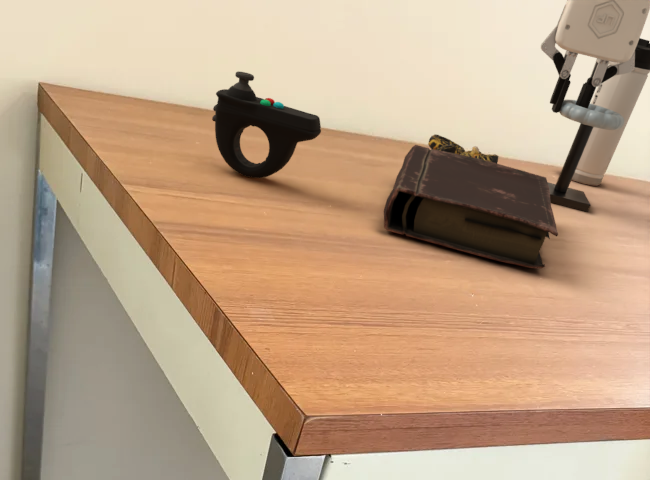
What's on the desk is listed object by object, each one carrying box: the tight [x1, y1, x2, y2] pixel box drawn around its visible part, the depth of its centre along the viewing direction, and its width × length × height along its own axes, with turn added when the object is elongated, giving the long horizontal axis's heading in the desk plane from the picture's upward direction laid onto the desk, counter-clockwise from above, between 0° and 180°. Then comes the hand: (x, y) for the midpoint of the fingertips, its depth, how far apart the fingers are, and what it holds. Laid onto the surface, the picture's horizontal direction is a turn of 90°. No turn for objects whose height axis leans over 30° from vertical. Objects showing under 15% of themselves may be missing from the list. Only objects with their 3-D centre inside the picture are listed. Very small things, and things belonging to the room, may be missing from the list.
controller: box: [211, 71, 322, 179], centre depth 93 cm, size 4×12×10 cm, turn 71°
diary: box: [383, 144, 559, 269], centre depth 96 cm, size 19×25×5 cm
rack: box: [547, 123, 593, 213], centre depth 116 cm, size 8×8×11 cm
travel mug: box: [571, 37, 650, 187], centre depth 128 cm, size 6×7×20 cm
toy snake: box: [427, 133, 499, 164], centre depth 120 cm, size 18×5×10 cm
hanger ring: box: [558, 99, 624, 130], centre depth 113 cm, size 9×9×2 cm
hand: (565, 112), depth 113 cm, fingers closed on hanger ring, 2 cm apart
